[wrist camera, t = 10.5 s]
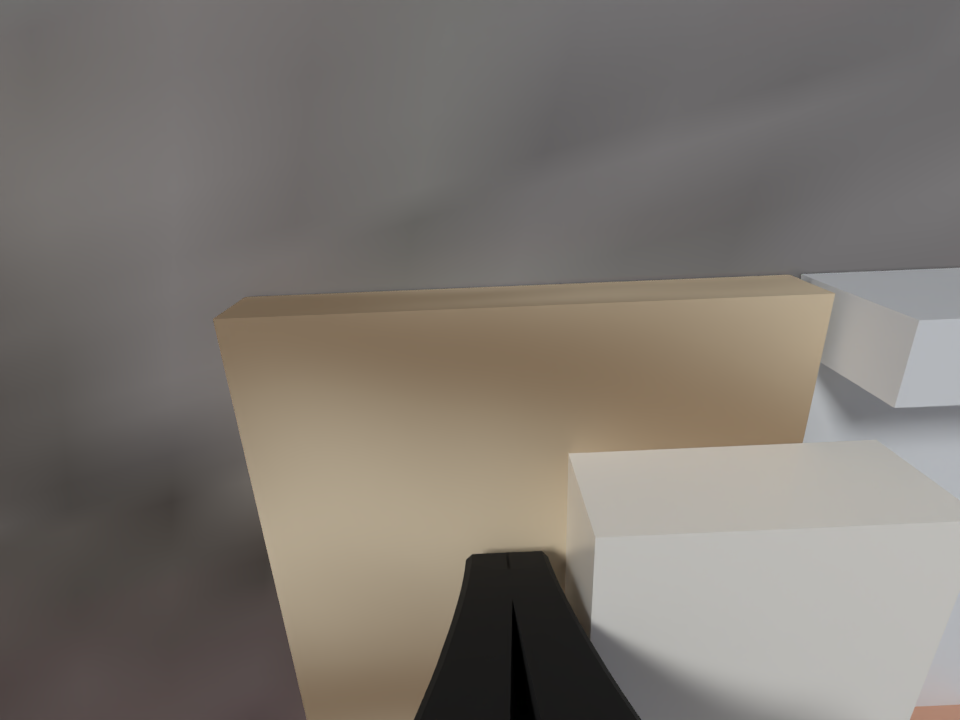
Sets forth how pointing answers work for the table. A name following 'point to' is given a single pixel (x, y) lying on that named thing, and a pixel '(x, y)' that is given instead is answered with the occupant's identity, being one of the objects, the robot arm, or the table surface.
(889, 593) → the cream tile
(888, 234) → the table surface
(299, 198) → the table surface
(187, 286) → the table surface
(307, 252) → the table surface
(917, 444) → the grey tray
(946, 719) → the terracotta tile
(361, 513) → the oak board
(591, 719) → the robot arm
